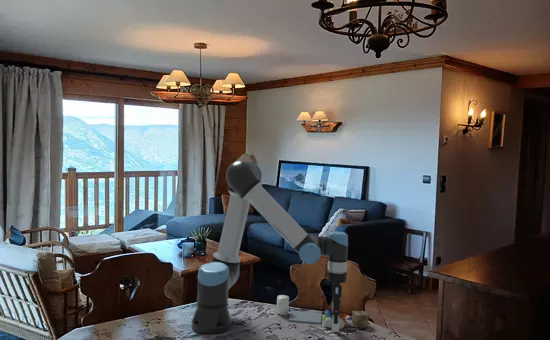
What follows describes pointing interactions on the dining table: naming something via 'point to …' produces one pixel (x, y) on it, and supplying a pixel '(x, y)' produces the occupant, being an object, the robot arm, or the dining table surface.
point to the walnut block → (360, 318)
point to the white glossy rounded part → (282, 304)
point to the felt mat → (305, 317)
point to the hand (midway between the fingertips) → (335, 325)
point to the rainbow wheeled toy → (328, 319)
